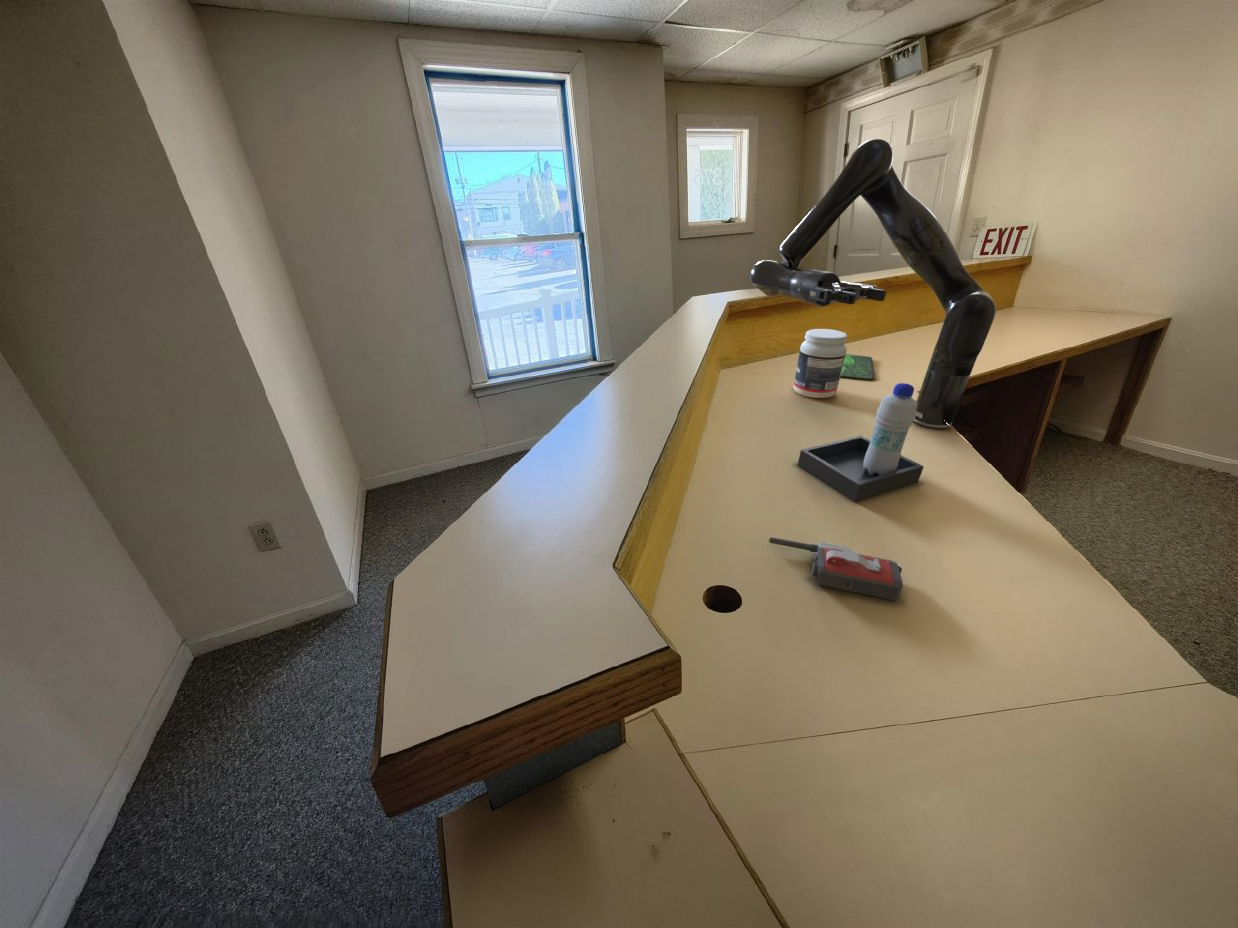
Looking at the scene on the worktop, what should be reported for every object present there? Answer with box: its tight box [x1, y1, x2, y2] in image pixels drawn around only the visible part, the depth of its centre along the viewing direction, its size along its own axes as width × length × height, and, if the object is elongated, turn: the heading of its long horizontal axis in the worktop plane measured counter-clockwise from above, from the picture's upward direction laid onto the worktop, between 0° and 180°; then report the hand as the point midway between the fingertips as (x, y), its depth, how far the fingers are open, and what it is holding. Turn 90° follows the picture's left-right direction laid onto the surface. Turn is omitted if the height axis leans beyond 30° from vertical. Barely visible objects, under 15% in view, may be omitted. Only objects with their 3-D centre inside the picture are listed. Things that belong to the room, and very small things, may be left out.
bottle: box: [863, 382, 917, 476], centre depth 92 cm, size 7×7×20 cm
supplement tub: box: [792, 328, 848, 399], centre depth 137 cm, size 13×13×18 cm
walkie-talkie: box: [768, 536, 904, 601], centre depth 72 cm, size 9×4×20 cm
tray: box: [797, 435, 925, 503], centre depth 98 cm, size 18×16×4 cm
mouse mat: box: [840, 353, 875, 381], centre depth 165 cm, size 27×22×1 cm
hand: (869, 297), depth 96 cm, fingers open, 8 cm apart
